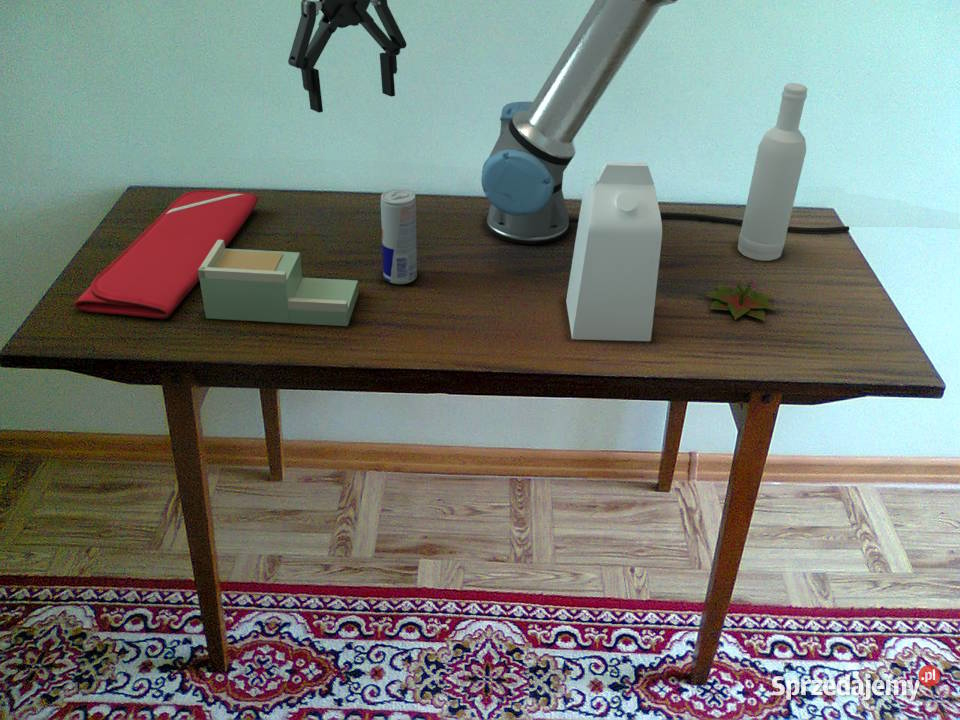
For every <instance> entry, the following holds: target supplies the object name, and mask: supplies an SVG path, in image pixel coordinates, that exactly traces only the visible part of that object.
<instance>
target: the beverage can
mask: <svg viewBox="0 0 960 720" xmlns="http://www.w3.org/2000/svg"><path fill="white" fill-rule="evenodd" d="M380 221H381V247H382V248H381V249H382V275H383V276H382V277H383V279H384V280H385V281H387V283H391V284H394V285H405V284H409V283H411V282H413V281H415V280H416V279H417V277H418V259H417V257H418V255H417V254H418V252H417V250H418V248H417V247H418V246H417V243H418V242H417V241H418V240H417V199H416V193H415V192H414V191H412V190H410V189H405V188H393V189H388V190H386V191H384V192H382V194H381V195H380Z"/></svg>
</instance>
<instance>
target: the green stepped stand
mask: <svg viewBox="0 0 960 720" xmlns="http://www.w3.org/2000/svg"><path fill="white" fill-rule="evenodd" d="M198 272H199V278H200V280H199V284H200V290H201V298H202V301H203V309H204V315H205V319H212V320H228V321H246V322H261V323H262V322H266V323H279V324H280V323H281V324H282V323H283V324H301V325H318V326H334V327H335V326H337V327H349V324H350V320H351V318H352V315H353V312H354V308H355V305H356V303H357V300H358V298H359V297H358V296H359V295H360V294H359V293H360V292H359V280H356V279H355V280H353V279H339V278H338V279H336V278H321V277H319V278H316V277H303V269H302V259H301V252H299V251H298V252H297V251H296V252H295V251H293V252H292V251H279V250H277V251H276V250H262V249H261V250H260V249H240V248H226V247H225V244H224V240H217V242H216V243H215V245H214V246H213V248H212V249H211V251H210V252H209V254H208V255H207V257H206V259H205V260H204V262H203V263H202V265H201V266H200V268H199V269H198Z"/></svg>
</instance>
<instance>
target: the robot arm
mask: <svg viewBox="0 0 960 720" xmlns="http://www.w3.org/2000/svg"><path fill="white" fill-rule="evenodd" d="M677 2H678V0H594V1H593V3H592V4H591V6H590V7H589V9H588V11H587V13H586V14H585V15H584V18H583V19H582V21H581V22H580V24H579V26H578V27H577V29H576V31H575V32H574V34H573V36H572V37H571V39H570V41H568V44H567V46H566V47H565V49H564V50H563V52H562V53H561V55H560V57H559V58H558V60H557V62H556V63H555V65H554V67H553V68H552V70H551V72H550V74H549V75H548V76H547V78H546V79H545V81H544V83H543V85H542V87H541V88H540V90H539V91H538V93H537V95H536V96H535V98H534V99H533V101H514V102H509V103H506V104H505V105H504V106H503V107H502V109H501V114H500V117H499V121H500V132H499V136H498V138H497V140H496V142H495V144H494V146H493V148H492V150H491V152H490V154H489V156H488V158H486V160H485V162H484V164H483V166H482V172H481V180H480V181H481V187H482V191H483V193H484V196H485V197H486V200H488V201H489V202H490V205H489V209H488V211H487V215H486V228H487V230H488V231H489V233H490V234H491V235H493V236H495V237H496V238H498V239H500V240H503V241H505V242H509V243H512V244H518V245H529V246H531V245H532V246H534V245H544V244H545V245H546V244H550V243H554V242H556V241H559V240H561V239H563V238H564V237H565V236H567V234H568V232H569V226H570V223H577V224H578V221H579V217H570V216H569V212H568V208H567V204H566V201H565V198H564V197H565V196H564V193H563V182H564V181H563V180H564V172H565V170H566V169H567V167H568V166H569V164H570V163H571V161H572V160H573V158H574V157H575V155H576V153H577V152H576V151H577V150H576V144H575V138H576V137H577V135H578V134H579V132H580V131H581V129H582V127H583V126H584V124H585V123H586V121H587V120H588V118H589V117H590V116H591V114H592V112H593V110H594V109H595V108H596V106H597V104H598V103H599V101H600V100H601V98H603V95H604V94H605V92H606V91H607V89H608V88H609V86H610V85H611V83H612V82H613V80H614V79H615V77H616V76H617V74H618V72H620V70H621V68H622V66H623V65H624V63H625V62H626V60H627V59H628V58H629V56H630V55H631V52H632V51H633V50H634V48H635V47H636V45H637V44H638V42H639V41H640V40H641V37H642V36H643V34H644V33H645V32H646V30H647V28H648V27H649V25H650V24H651V22H652V21H653V19H654V18H655V16H656V15H657V13H658V12H659V10H660V9H661V8H662V7H664V6H668V5H672V4H675V3H677ZM370 5H371V6H373V9H374V10H375V13H376V14H377V16H378V18H379V21H380V23H381V24H382V26H383V28H384V31H385V32H386V33H385V32H384V31H383V30H382V28H381V27H380V26H379V25H378V24H377V23H376V22H375V19H374V18H373V17H372V16H371V14H369V12H368V8H369V7H370ZM320 12H321V13H322V16H321V18H320V20H319V22H318V23H317V24H318V27H317V29H316V31H315V33H313V32H314V28H315V25H316V21H317V16H318V15H319V14H320ZM298 22H299V23H298V24H297V25H298V26H297V29H296V32H295V36H294V40H293V42H292V46H291V49H290V53H289V56H288V60H287V63H288V65H289V66H290V67H294V68H296V69H300V72H301V80H302V88H303V89H304V90H305V91H307V92H308V100H309V109H310V110H312V111H314V112H316V113H323V112H324V109H323V99H322V88H321V82H320V81H321V80H320V72H319V69H318V68H315V66H316V65H317V63H318V60H319V59H320V57H321V55H322V53H323V51H324V50H325V48H326V46H327V44H328V42H329V40H330V39H331V37H332V35H333V34H334V33H335V32H336V31H337V29H338V28H340V29H344V28H348V27H349V26H353V27H356V26H359V25H361V26H362V27H363V28H364V30H365V31H366V32H367V33H368V34H369V35H370V36H371V38H373V40H374V42H376V43H377V45H379V47H380V48H381V49H382V50H383V51H384V52H380V53H379V63H380V79H381V92H382V94H383V95H386V96H388V97H391V98H392V97H395V96H396V87H395V75H396V74H397V73H398V60H397V56H399V55H400V54H401V50H402V49H406V48H407V41H406V38H405V37H404V35H403V33H402V31H401V29H400V27H399V25H398V23H397V21H396V19H395V17H394V15H393V13H392V11H391V8H390V7H389V5H388V0H301V2H300V18H299V21H298ZM312 35H313V36H312ZM660 216H661V218H679V219H680V218H681V219H695V220H704V221H705V220H707V221H712V222H713V221H714V222H720V223H728V224H735V225H741V226H742V223H743V219H738V218H732V217H723V216H716V215H708V214H699V213H689V212H688V213H687V212H660ZM849 231H850V226H848V225H847V226H831V227H803V226H802V227H801V226H791V225H788V229H787V232H797V233H798V232H799V233H839V232H849Z"/></svg>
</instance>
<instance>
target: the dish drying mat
mask: <svg viewBox="0 0 960 720" xmlns="http://www.w3.org/2000/svg"><path fill="white" fill-rule="evenodd" d="M258 202H259V196H258V195H256V194H254V193H250V192H242V191H241V192H240V191H232V190H220V189H219V190H218V189H199V190H194V191H193V190H192V191H185V192H184V193H183V194H182V195H180V196H179V197H177V198H176V199H175V200H174V201H173V202H171V204H170V205H169V206H168V207H167V208H166V209H165V210H164V211H163V212H162V213H161V214H160V215H159V216H158V217H157V218H156V219H155V220H154V221H153V222H151V224H150V225H149V226H148V227H146V229H145V230H144V231H143V232H141V234H140V235H138V237H137V238H136V239H135V240H134V241H133V242H131V244H129V245H128V246H127V247H126V248H125V249H124V250H123V251H122V252H121V253H120V254H119V255H118V256H117V257H116V258H114V259H113V260H112V262H111V263H110V264H109V265H108V266H107V267H105V268H104V269H103V270H102V271H101V272H99V273H98V274H97V275H96V276H95V277H94V278H93V279H92V281H91V283H90V286H89V287H88V288H87V289H86V290H85V291H84V292H83V293H82V294H81V295H80V296H79V297H78V299H76V300H75V302H74V306H75V308H76V309H77V310H79V311H80V312H85V313H94V314H95V313H96V314H105V315H120V316H130V317H138V318H139V317H140V318H149V319H158V320H166V319H168V318H169V317H170V316H171V315H172V314H173V312H174V311H175V310H176V309H177V307H178V306H179V305H180V304H181V303H182V302H183V300H184V299H185V298H186V297H187V295H188V294H189V293H190V292H191V291H192V290H193V289H194V287H195V286H196V285H197V284H198V282H200V278H199V272H198V269H199V268H200V266H201V265H202V263H203V262H204V260H205V259H206V257H207V255H208V254H209V252H210V251H211V249H212V248H213V246H214V245H215V243H216V242H217V240H224V244H225V248H226V247H227V246H228V245H229V244H230V243H231V241H232V240H233V239H234V238H235V236H236V235H237V233H238V232H239V231H240V229H241V228H242V227H243V225H244V224H245V222H246V221H247V219H248V218H249V216H250V215H251V214H252V213H253V211H254V209H255V208H256V206H257V204H258Z"/></svg>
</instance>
